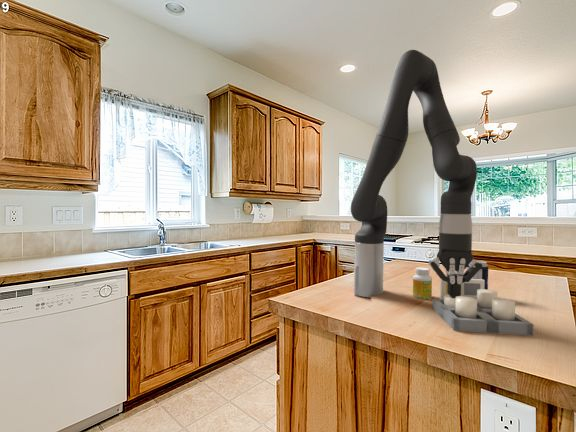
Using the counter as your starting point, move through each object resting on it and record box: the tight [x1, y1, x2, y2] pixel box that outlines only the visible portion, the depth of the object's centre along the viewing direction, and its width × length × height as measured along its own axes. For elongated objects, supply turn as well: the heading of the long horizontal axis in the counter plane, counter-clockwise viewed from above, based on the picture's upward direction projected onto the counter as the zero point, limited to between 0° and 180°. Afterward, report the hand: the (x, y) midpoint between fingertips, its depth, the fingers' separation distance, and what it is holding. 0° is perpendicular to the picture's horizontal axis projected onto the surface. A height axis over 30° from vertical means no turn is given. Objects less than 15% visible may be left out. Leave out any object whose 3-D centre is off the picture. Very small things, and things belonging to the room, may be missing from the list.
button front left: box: [455, 296, 477, 319], centre depth 72 cm, size 4×4×4 cm
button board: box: [432, 279, 534, 336], centre depth 76 cm, size 16×18×9 cm
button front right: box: [492, 297, 516, 321], centre depth 71 cm, size 4×4×4 cm
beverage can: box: [466, 259, 489, 290], centre depth 96 cm, size 6×6×12 cm
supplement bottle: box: [412, 267, 433, 300], centre depth 96 cm, size 5×5×10 cm
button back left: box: [444, 295, 456, 307], centre depth 80 cm, size 4×4×4 cm
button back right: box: [477, 289, 498, 309], centre depth 79 cm, size 4×4×4 cm
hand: (454, 297), depth 80 cm, fingers closed
